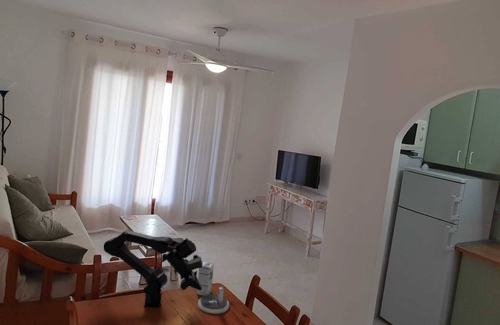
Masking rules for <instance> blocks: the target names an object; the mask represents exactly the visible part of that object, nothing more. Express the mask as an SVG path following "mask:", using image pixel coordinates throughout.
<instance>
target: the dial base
mask: <svg viewBox="0 0 500 325" xmlns="http://www.w3.org/2000/svg"><path fill="white" fill-rule="evenodd" d="M201 298H202V297H200V298H199V299H198V302H197V308H199V310H201V311H202V312H204V313H207V314H215V315H216V314H223V313H226V312H227V311H228V310H229V307H230V302H229V301H228V299H227V305H226V306H225V307H224V308H221V309H210V308H206V307H204V306H203V305H202V304H201Z"/></svg>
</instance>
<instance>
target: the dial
mask: <svg viewBox="0 0 500 325" xmlns="http://www.w3.org/2000/svg"><path fill="white" fill-rule="evenodd" d="M224 290H225V289H224V287H223V286H218V289H217V294H215V293H212V294H211V293H210V294H208V295H205V296H203V295H202V297H200V298H201V304H202V305H203V306H204V307H206V308H210V309H221V308H224V307H225V306H226V305H227V300H228V299H227V298H226V297H224Z"/></svg>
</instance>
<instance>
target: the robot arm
mask: <svg viewBox="0 0 500 325" xmlns="http://www.w3.org/2000/svg"><path fill="white" fill-rule="evenodd" d="M126 242H129V243H133V244H138V245H141V246H145V247H148V248H151V249H152V250H153V251H155V252H157V253H158V254H162V257H161V263H164V262H168V263H169V264H170V267H172V268H173V271H174V273H177V274H178V275H179V278H180V280H181V281H180V286H179V287H180V289H181V290H182V291H185V290H186V289H188V288H189V287H191V288H193V289H196V290H197V289H198V290H201V289H202V287H201V285H200V283H199V281H198V270H197V269H199V268H201V267H202V264H203V261H202V257H201V256H199V255H198V254H194V253H195V252H197V246H196V244H195V243H194V242H193V241H192V240H190V239H188V238H187V237H186V238H185V239H184V240H182V242H178V241H176V240H173V238H172V237H170V236H152V235H148V234H146V233H140V232H137V231H133V230H131V229H127V230H124V231H123V232H122V233H120V234H119V235H117V236H115V237H112V238H110V239H109V240H107V241H105V242H104V244H103V251H104V252H105V253H106V254H108V255H110V256H111V257H115V258H119V259H120V260H122V262H124V263H125V264H126V265H127V266H129V267H130V268H132V269H133V270H134V271H136V273H138V274H139V275H141V277H143V278H144V280H145V283H146V286H144V288H143V292H144V293H143V294H145V296H144V297H145V298H144V303H143V307H148V308H149V307H150V308H160V305H161V304H162V299H163V292H162V288H164V286H165V285H167V283H168V276H167V275H166V272H165V271H163V270H162V269H161V268H159V267H157V268H155V269H154V268H152V267H150V266H149V265H148V264H147V263H145V262H144V261H143V260H142V259H140V258H139V257H138V256H136V255H135V254H134V253H133V252H132V251H130V250H129V249H128V247H127V245H126ZM193 254H194V255H193ZM191 255H193V256H192V258H191V259H190V260H189V259H187V258H188V257H189V256H191ZM194 270H196V271H194Z"/></svg>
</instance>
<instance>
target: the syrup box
mask: <svg viewBox="0 0 500 325" xmlns="http://www.w3.org/2000/svg"><path fill="white" fill-rule="evenodd" d="M202 263H203V264H202V267H201V268H198V271H197V279H198V281H199V283H200V285H201V287H202V289H201V290H198V289H196V294H197V295H198V296H202V297H203V296H205V295H208V294H211V293H212V287H213V275H214V267H215V266H214V263H213V262H208V261H202Z"/></svg>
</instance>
